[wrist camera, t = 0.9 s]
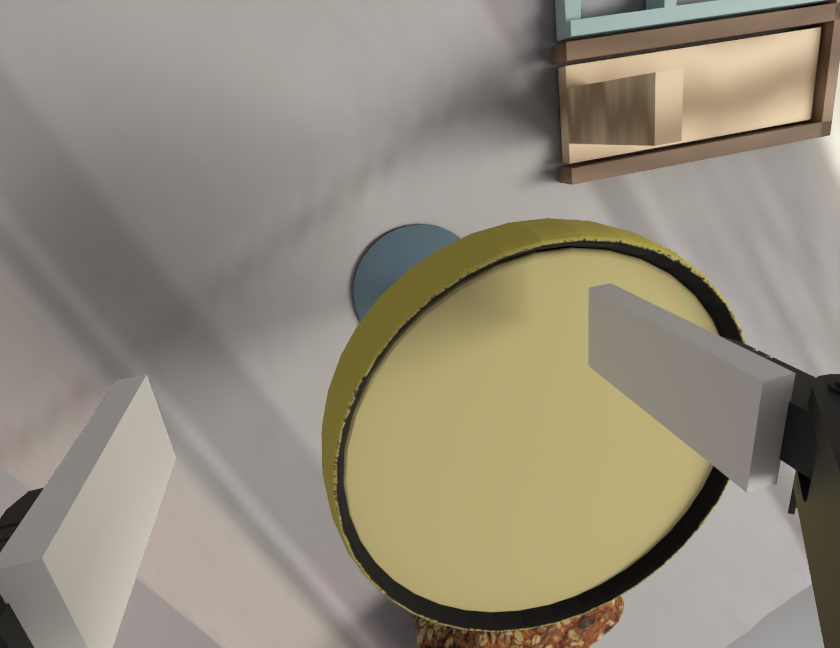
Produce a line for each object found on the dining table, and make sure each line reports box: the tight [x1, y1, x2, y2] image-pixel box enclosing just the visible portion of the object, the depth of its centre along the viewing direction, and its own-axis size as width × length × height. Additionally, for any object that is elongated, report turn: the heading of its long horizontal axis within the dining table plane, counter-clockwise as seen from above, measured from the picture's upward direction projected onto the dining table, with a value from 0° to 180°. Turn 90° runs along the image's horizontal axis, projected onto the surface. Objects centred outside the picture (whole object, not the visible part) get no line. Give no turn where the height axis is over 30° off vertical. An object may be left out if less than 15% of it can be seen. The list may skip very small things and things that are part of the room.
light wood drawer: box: [558, 27, 821, 164], centre depth 38 cm, size 7×22×12 cm, turn 99°
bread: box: [414, 596, 624, 648], centre depth 52 cm, size 19×11×10 cm, turn 126°
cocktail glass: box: [322, 218, 746, 632], centre depth 32 cm, size 18×18×25 cm
